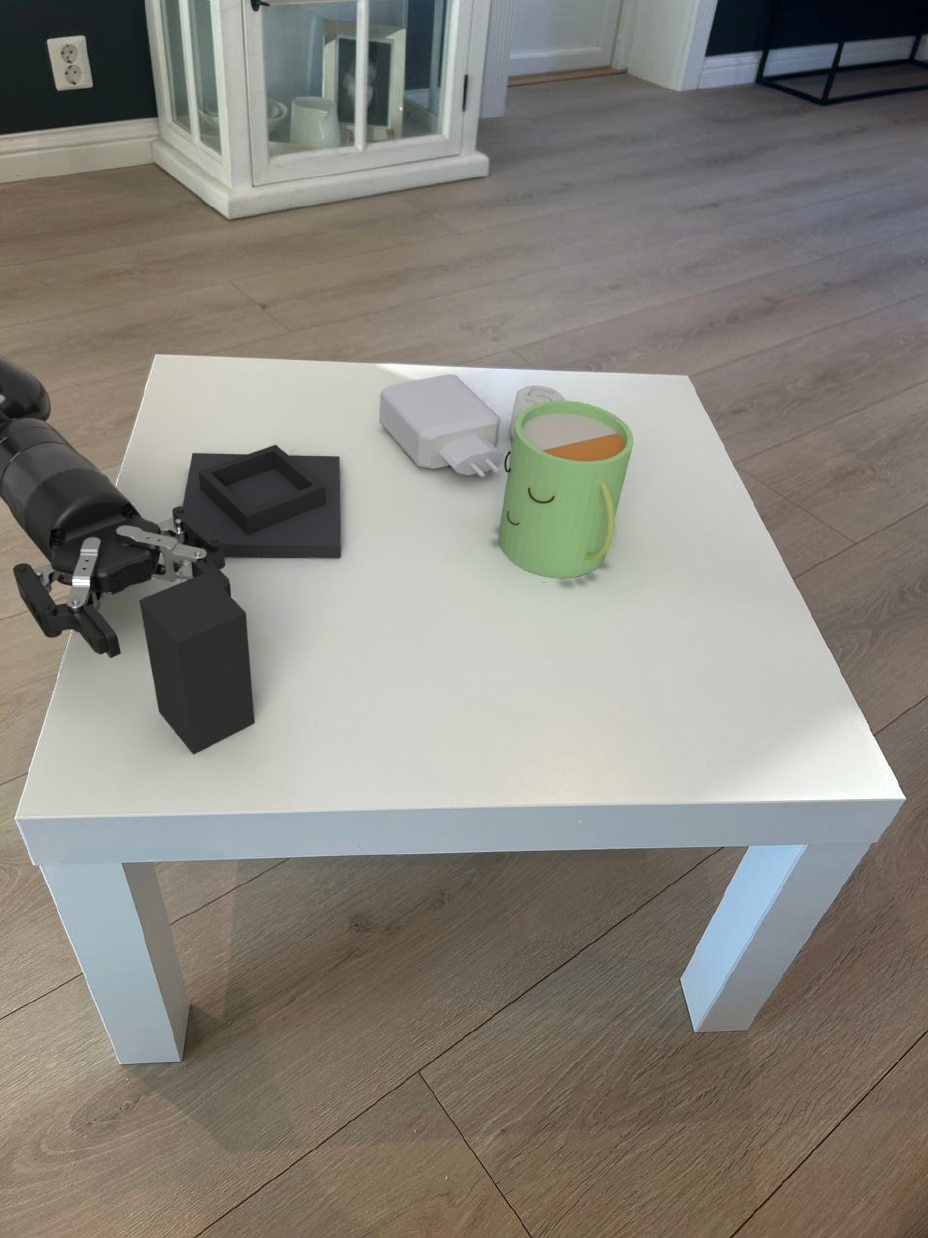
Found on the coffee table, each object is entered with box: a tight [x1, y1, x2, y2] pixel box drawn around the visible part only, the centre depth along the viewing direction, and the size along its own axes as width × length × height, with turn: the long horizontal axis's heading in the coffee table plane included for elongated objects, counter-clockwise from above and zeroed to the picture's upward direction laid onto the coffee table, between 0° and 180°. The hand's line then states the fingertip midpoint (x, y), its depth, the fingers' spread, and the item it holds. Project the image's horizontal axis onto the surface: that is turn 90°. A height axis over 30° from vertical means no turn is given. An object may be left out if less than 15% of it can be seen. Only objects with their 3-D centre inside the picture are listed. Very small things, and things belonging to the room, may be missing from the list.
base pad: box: [182, 444, 342, 559], centre depth 88 cm, size 14×14×4 cm
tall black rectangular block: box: [138, 572, 255, 755], centre depth 67 cm, size 5×5×11 cm
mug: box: [498, 400, 634, 579], centre depth 85 cm, size 13×10×12 cm
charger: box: [378, 373, 505, 478], centre depth 97 cm, size 5×9×15 cm
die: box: [508, 385, 566, 441], centre depth 101 cm, size 5×5×5 cm
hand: (171, 622), depth 68 cm, fingers open, 8 cm apart
